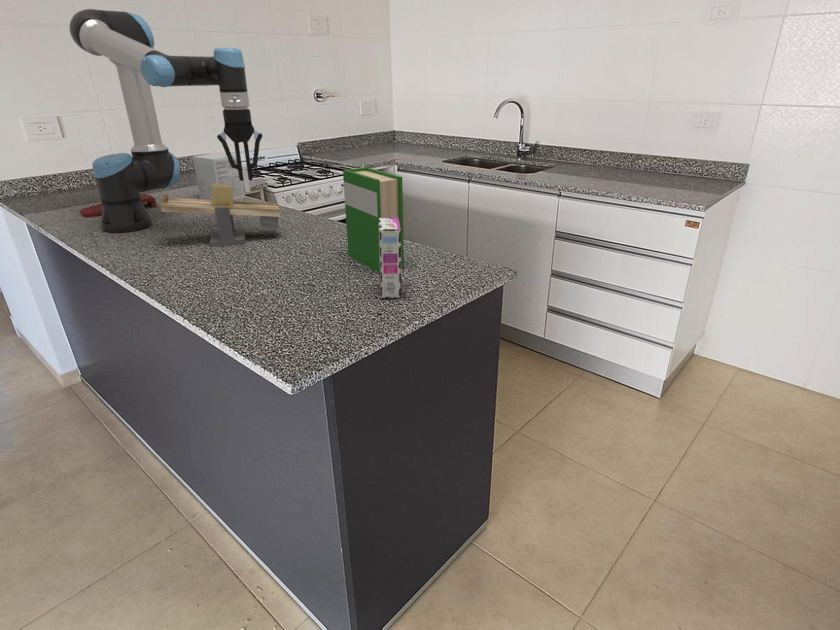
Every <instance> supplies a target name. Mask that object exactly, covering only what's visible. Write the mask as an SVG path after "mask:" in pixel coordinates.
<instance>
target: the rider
mask: <svg viewBox="0 0 840 630" xmlns="http://www.w3.org/2000/svg"><path fill="white" fill-rule="evenodd" d="M211 199H212V206H229V207H233V201H234V200H233V185H228V184H212V185H211Z"/></svg>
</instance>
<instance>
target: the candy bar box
mask: <svg viewBox="0 0 840 630" xmlns="http://www.w3.org/2000/svg"><path fill="white" fill-rule="evenodd" d="M379 257H380V274H379V281H380V282H379V285H380V298H381V299H382V298H389V297H401V298H402V269H401V229H400V224H399V218H379Z"/></svg>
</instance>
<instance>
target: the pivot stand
mask: <svg viewBox="0 0 840 630" xmlns="http://www.w3.org/2000/svg"><path fill="white" fill-rule="evenodd" d="M214 215H215V218H216V224H217V230H215V231H211V232H210V233H211V234H210V240H209V246H210V248H213V247H214V248H215V247H226V246H227V245H228V246H238V245H239V246H240V245H246V231H245V228H237V229H235V223H234V217H233V216H234V215H230V209H229V207H216V208H215V214H214Z"/></svg>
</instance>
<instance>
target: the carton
mask: <svg viewBox="0 0 840 630" xmlns="http://www.w3.org/2000/svg"><path fill="white" fill-rule="evenodd" d="M140 197H141V202H142V204H145V203H146V205H148V206H149V207H151V208H152V207H153V208H158V204H157V201H156V199H155V197H154V196H152V195H151V194H147V193H140ZM102 208H103V206H102V202H100V203H99V204H95V205H91V206H87V207H83V208H81V209H80V210H79V212H80V214H81V216H82V217H83V218H94V217H98V216H100V215H101V216H102Z"/></svg>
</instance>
